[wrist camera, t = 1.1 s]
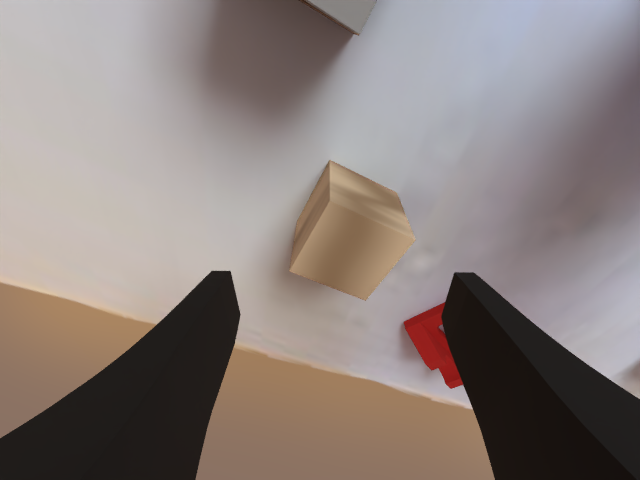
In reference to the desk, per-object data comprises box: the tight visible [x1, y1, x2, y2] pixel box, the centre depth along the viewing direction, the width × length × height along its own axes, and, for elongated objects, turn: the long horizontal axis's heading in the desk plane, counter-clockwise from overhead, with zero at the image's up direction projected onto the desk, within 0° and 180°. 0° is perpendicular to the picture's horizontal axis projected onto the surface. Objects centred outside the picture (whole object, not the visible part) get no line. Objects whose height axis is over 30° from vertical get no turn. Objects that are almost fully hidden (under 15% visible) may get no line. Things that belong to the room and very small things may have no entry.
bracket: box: [404, 303, 463, 389], centre depth 25 cm, size 6×5×3 cm
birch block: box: [289, 160, 415, 301], centre depth 17 cm, size 4×4×5 cm
